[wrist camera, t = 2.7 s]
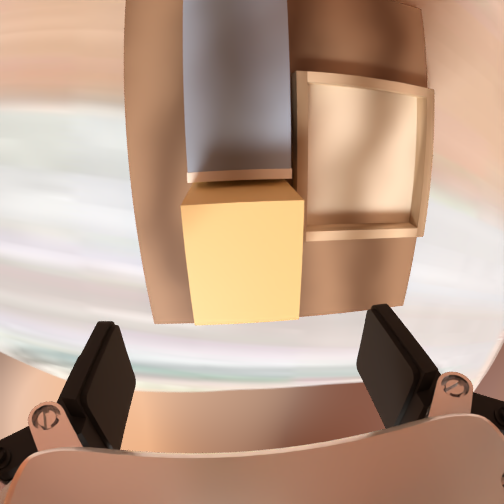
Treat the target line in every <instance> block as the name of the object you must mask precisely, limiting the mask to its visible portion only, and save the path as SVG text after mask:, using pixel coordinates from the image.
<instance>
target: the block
mask: <svg viewBox="0 0 504 504" xmlns="http://www.w3.org/2000/svg"><path fill="white" fill-rule="evenodd" d="M181 216H182V226H183V236H184V245H185V254H186V263H187V271H188V279H189V287H190V294H191V302H192V309H193V316H194V323H195V325H216V324H237V323H255V322H270V321H284V320H296V319H299V309H300V292H301V274H302V253H303V227H304V199H303V198H302V197H301V196H300V195H299V194H298V193H297V192H296V191H295V190H294V189H293V188H292V187H291V186H290V184H289V183H288V182H287V181H286V180H285V179H256V180H231V181H211V182H195V183H193V184H192V186H191V187H190V189H189V191H188V193H187V195H186V197H185V198H184V200H183V202H182V204H181Z"/></svg>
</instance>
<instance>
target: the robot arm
mask: <svg viewBox="0 0 504 504" xmlns="http://www.w3.org/2000/svg"><path fill="white" fill-rule="evenodd" d="M356 365H357V370H358V372H359V374H360V376H361V378H362V380H363V382H364V384H365V386H366V388H367V390H368V392H369V394H370V396H371V398H372V401H373V402H374V405H375V407H376V409H377V411H378V413H379V415H380V417H381V419H382V421H383V423H384V426H385V428H386V429H382V430H379V431H374V432H370V433H366V434H362V435H357V436H352V437H347V438H343V439H338V440H332V441H327V442H322V443H315V444H308V445H301V446H294V447H287V448H278V449H269V450H258V451H245V452H227V453H159V452H141V451H126V450H120V447H121V443H122V438H123V434H124V429H125V426H126V421H127V417H128V413H129V409H130V405H131V401H132V397H133V393H134V389H135V385H136V379H135V375H134V372H133V369H132V366H131V363H130V360H129V357H128V354H127V351H126V348H125V344H124V341H123V338H122V335H121V331H120V328H119V326H118V325H115V324H114V322H112V321H99V322H98V323H97V324H96V326H95V328H94V330H93V332H92V334H91V336H90V338H89V340H88V342H87V344H86V346H85V347H84V349H83V351H82V353H81V355H80V356H79V357H78V359H77V361H76V363H75V365H74V367H73V369H72V371H71V373H70V375H69V377H68V379H67V381H66V384H65V386H64V388H63V390H62V392H61V394H60V397H59V399H58V401H57V403H55V402H44V403H40V404H39V405H37V406H35V407H34V408H33V409H32V411H31V412H30V414H29V417H28V424H29V426H28V427H26V428H24V429H22V430H20V431H18V432H16V433H14V434H12V435H10V436H8V437H6V438H4V439H1V440H0V504H504V402H503V401H500V400H497V399H493V398H490V397H487V396H483V395H480V394H477V393H474V392H473V385H472V383H471V381H470V380H469V379H468V378H467V377H466V376H464V375H463V374H460V373H458V372H446V373H444V374H442V375H441V374H440V373H439V371H438V368H437V367H436V366H435V364H434V363H433V362H432V360H431V359H430V358H429V356H428V355H427V354H426V352H425V351H424V350H423V348H422V347H421V346H420V344H419V343H418V342H417V341H416V339H415V338H414V337H413V335H412V334H411V333H410V332H409V330H408V329H407V328H406V326H405V325H404V324H403V323H402V321H401V320H400V319H399V318H398V316H397V315H396V314H395V313H394V311H393V310H392V309H391V308H390V307H389V305H388V304H377V305H373V306H372V307H371V309H369V310H368V311H367V314H366V319H365V324H364V329H363V334H362V339H361V344H360V349H359V353H358V357H357V364H356Z"/></svg>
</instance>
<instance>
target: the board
mask: <svg viewBox="0 0 504 504" xmlns="http://www.w3.org/2000/svg"><path fill="white" fill-rule="evenodd" d="M124 95H125V118H126V134H127V148H128V160H129V170H130V180H131V189H132V197H133V205H134V213H135V220H136V227H137V234H138V240H139V246H140V253H141V258H142V264H143V270H144V275H145V280H146V286H147V291H148V296H149V301H150V305H151V310H152V315H153V319H154V324H174V323H194V316H193V309H192V302H191V294H190V287H189V279H188V271H187V263H186V254H185V245H184V236H183V226H182V216H181V204H182V202H183V200H184V198H185V197H186V195H187V193H188V191H189V189H190V187H191V186H192V184H193V183H195V182H211V181H231V180H256V179H285V180H286V181H287V182H288V183H289V184H290V186H291V187H292V188H293V189H294V190H295V191H296V192H297V193H298V194H299V195H300V196H301V197H302V198H303V199H304V227H303V253H302V274H301V292H300V309H299V317H304V316H315V315H326V314H336V313H345V312H354V311H363V310H369V309H371V307H372V306H373V305H377V304H388V305H389V307H395V306H402V305H403V303H404V299H405V294H406V290H407V285H408V281H409V276H410V271H411V266H412V261H413V255H414V250H415V244H416V238H417V237H423V235H424V229H425V222H426V215H427V208H428V200H429V191H430V181H431V170H432V157H433V140H434V90H433V89H429V88H427V67H426V51H425V39H424V29H423V20H422V12H421V9H419V8H416V7H413V6H409V5H406V4H403V3H399V2H395V1H392V0H126V7H125V28H124Z"/></svg>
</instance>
